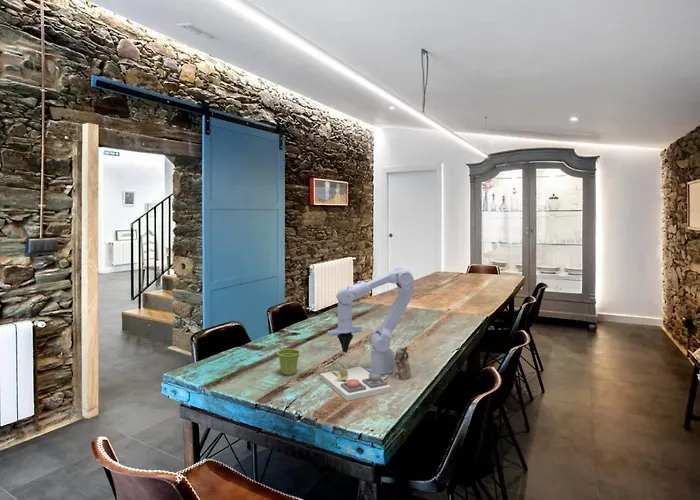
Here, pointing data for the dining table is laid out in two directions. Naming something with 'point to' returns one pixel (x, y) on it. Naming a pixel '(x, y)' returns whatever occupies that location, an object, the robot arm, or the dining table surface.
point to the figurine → (401, 365)
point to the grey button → (374, 377)
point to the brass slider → (342, 373)
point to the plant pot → (288, 360)
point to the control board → (365, 384)
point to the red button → (353, 383)
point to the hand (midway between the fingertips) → (344, 351)
